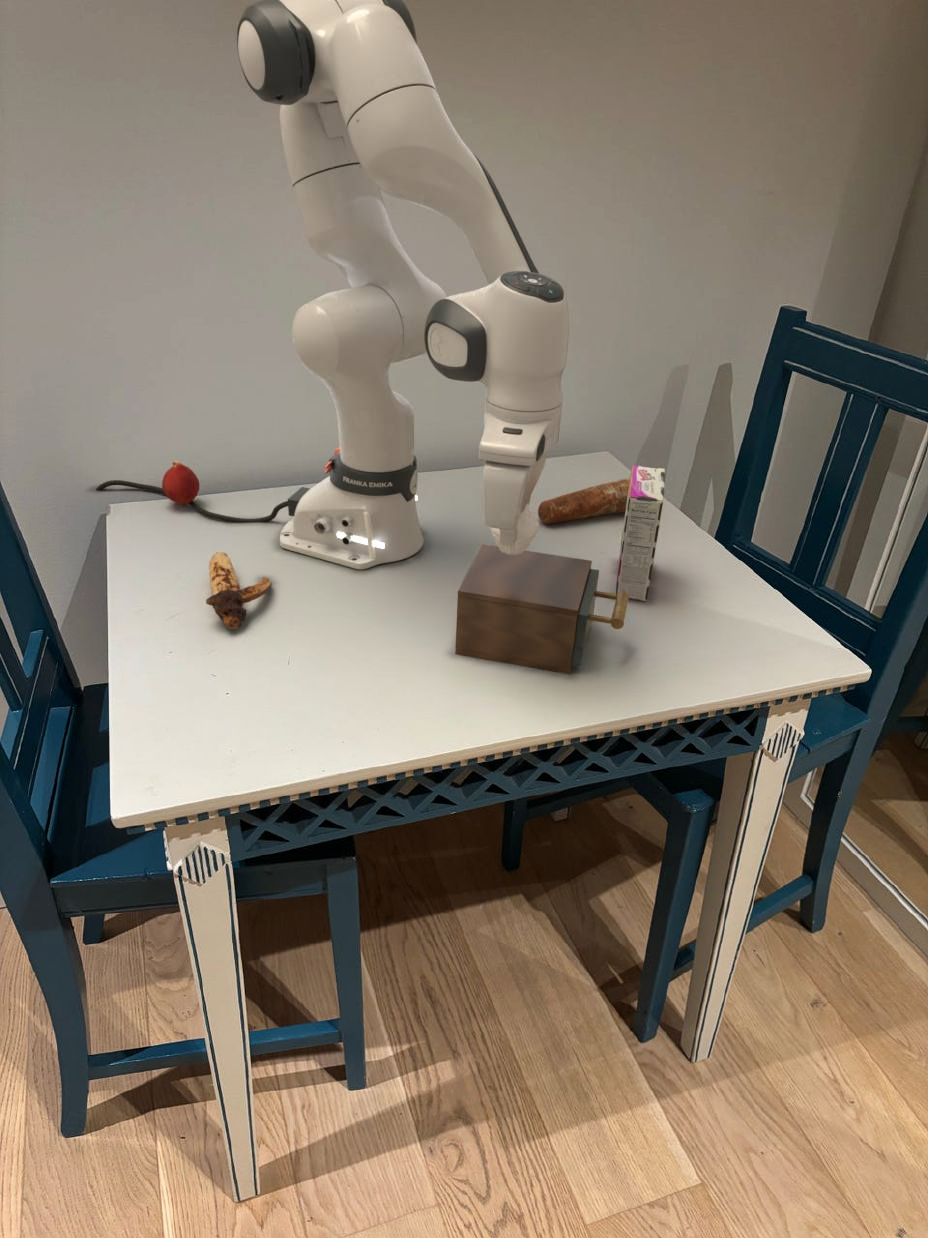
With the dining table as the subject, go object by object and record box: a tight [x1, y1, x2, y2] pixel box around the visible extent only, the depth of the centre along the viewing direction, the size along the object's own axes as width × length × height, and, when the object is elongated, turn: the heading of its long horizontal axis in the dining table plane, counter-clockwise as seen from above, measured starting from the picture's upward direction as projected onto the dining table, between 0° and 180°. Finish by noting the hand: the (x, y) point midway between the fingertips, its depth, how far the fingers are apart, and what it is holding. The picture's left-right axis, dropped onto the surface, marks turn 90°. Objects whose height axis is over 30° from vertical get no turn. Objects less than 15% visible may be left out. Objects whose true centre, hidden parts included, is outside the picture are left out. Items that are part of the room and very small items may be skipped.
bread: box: [537, 477, 631, 525], centre depth 151 cm, size 6×19×6 cm, turn 113°
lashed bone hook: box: [205, 551, 272, 630], centre depth 124 cm, size 9×5×18 cm
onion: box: [161, 460, 200, 507], centre depth 147 cm, size 6×6×8 cm
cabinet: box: [454, 543, 593, 675], centre depth 117 cm, size 15×13×10 cm
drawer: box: [572, 568, 630, 668], centre depth 117 cm, size 18×12×8 cm, turn 76°
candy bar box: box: [615, 465, 666, 602], centre depth 129 cm, size 11×5×16 cm, turn 168°
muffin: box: [489, 503, 540, 555], centre depth 110 cm, size 6×6×7 cm
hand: (514, 530), depth 111 cm, fingers closed on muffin, 6 cm apart
